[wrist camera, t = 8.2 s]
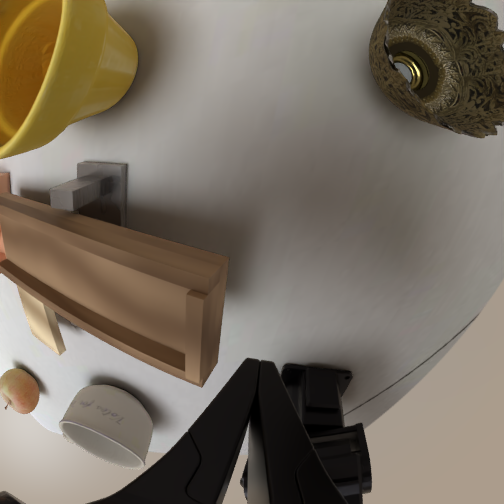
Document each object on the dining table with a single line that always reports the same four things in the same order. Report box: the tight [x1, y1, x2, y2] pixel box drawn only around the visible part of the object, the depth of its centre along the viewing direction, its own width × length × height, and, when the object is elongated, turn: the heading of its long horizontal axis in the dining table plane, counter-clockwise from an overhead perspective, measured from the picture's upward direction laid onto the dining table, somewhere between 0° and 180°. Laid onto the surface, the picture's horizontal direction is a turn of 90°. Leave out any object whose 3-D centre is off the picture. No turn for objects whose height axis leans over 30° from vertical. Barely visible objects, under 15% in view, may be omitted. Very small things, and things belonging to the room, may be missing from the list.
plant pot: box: [0, 0, 138, 159], centre depth 11 cm, size 10×10×10 cm
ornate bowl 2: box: [369, 0, 504, 138], centre depth 10 cm, size 8×7×8 cm
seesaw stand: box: [50, 162, 127, 327], centre depth 19 cm, size 12×4×5 cm, turn 172°
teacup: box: [59, 385, 153, 469], centre depth 27 cm, size 14×11×8 cm
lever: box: [0, 192, 229, 387], centre depth 18 cm, size 15×22×3 cm
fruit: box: [0, 368, 39, 414], centre depth 30 cm, size 8×7×8 cm
